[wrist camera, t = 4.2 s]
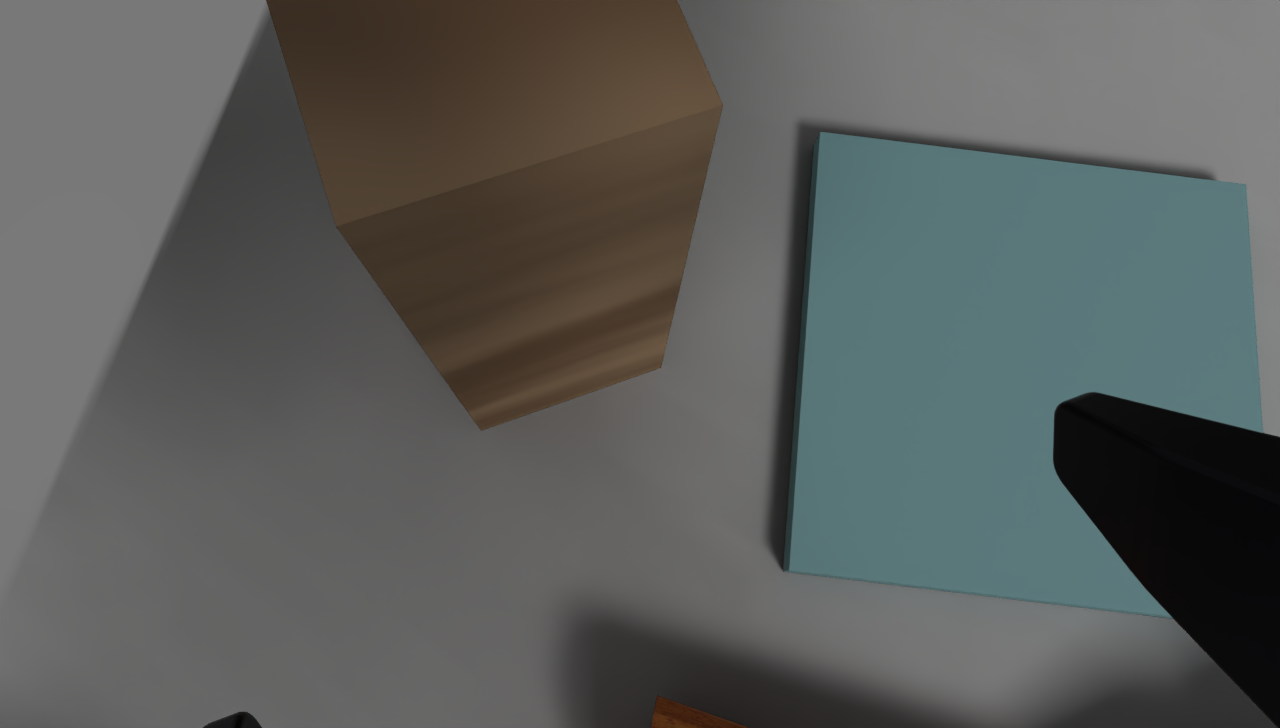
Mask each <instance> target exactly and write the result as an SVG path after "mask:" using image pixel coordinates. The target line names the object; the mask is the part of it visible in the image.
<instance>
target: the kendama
mask: <svg viewBox="0 0 1280 728" xmlns="http://www.w3.org/2000/svg"><path fill="white" fill-rule="evenodd" d="M651 728H749V727H746V726H743V725H740V724H737V723H734V722H731V721H729V720H726V719H723V718H720V717H717V716H714V715H712V714H709V713H706V712H703V711H700V710H697V709H695V708H692V707H689V706H686V705H683V704H680V703H678V702H675V701H672V700H669V699H666V698H663V697H661V696H658V695H657V699H656V704H655V709H654V714H653V719H652V724H651Z"/></svg>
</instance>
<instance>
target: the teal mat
mask: <svg viewBox="0 0 1280 728" xmlns="http://www.w3.org/2000/svg"><path fill="white" fill-rule="evenodd" d="M1088 392H1098V393H1102V394H1107V395H1111V396H1115V397H1119V398H1123V399H1127V400H1131V401H1135V402H1139V403H1143V404H1147V405H1151V406H1155V407H1159V408H1164V409H1168V410H1172V411H1176V412H1180V413H1184V414H1188V415H1192V416H1196V417H1200V418H1204V419H1208V420H1212V421H1216V422H1221V423H1225V424H1229V425H1233V426H1237V427H1241V428H1245V429H1249V430H1253V431H1257V432H1261V433H1263V427H1262V413H1261V398H1260V383H1259V369H1258V354H1257V339H1256V325H1255V310H1254V295H1253V281H1252V266H1251V251H1250V237H1249V222H1248V207H1247V193H1246V184H1238V183H1230V182H1222V181H1214V180H1206V179H1198V178H1190V177H1182V176H1174V175H1166V174H1158V173H1150V172H1141V171H1133V170H1125V169H1117V168H1109V167H1101V166H1093V165H1085V164H1077V163H1069V162H1061V161H1053V160H1045V159H1037V158H1029V157H1021V156H1012V155H1004V154H996V153H988V152H980V151H972V150H964V149H956V148H948V147H940V146H932V145H924V144H916V143H908V142H900V141H891V140H883V139H875V138H867V137H859V136H851V135H843V134H835V133H827V132H820V133H819V135H818V138H817V140H816V142H815V144H814V149H813V163H812V176H811V190H810V204H809V218H808V232H807V246H806V259H805V273H804V287H803V301H802V315H801V329H800V342H799V356H798V370H797V384H796V398H795V411H794V425H793V439H792V453H791V467H790V481H789V494H788V508H787V522H786V536H785V550H784V564H783V572H791V573H799V574H807V575H816V576H824V577H832V578H840V579H849V580H857V581H865V582H874V583H882V584H890V585H898V586H907V587H915V588H923V589H931V590H940V591H948V592H956V593H965V594H973V595H981V596H989V597H998V598H1006V599H1014V600H1022V601H1031V602H1039V603H1047V604H1055V605H1064V606H1072V607H1080V608H1089V609H1097V610H1105V611H1113V612H1122V613H1130V614H1138V615H1146V616H1155V617H1163V618H1171V619H1173V618H1172V617H1171V616H1170V614H1169V613H1168V612H1167V611H1166V610H1165V609H1164V608H1163V607H1162V606H1161V605H1160V604H1159V603H1158V602H1157V601H1156V600H1155V599H1154V597H1153V596H1152V595H1151V594H1150V593H1149V592H1148V591H1147V590H1146V589H1145V588H1144V586H1143V585H1142V584H1141V583H1140V582H1139V580H1138V579H1137V578H1136V577H1135V576H1134V574H1133V573H1132V572H1131V571H1130V570H1129V568H1128V567H1127V566H1126V564H1125V563H1124V562H1123V561H1122V559H1121V558H1120V557H1119V555H1118V554H1117V553H1116V552H1115V550H1114V549H1113V548H1112V547H1111V545H1110V544H1109V543H1108V541H1107V540H1106V539H1105V538H1104V536H1103V535H1102V534H1101V532H1100V531H1099V530H1098V529H1097V527H1096V526H1095V525H1094V523H1093V522H1092V521H1091V520H1090V518H1089V517H1088V516H1087V514H1086V513H1085V512H1084V511H1083V509H1082V508H1081V507H1080V505H1079V504H1078V503H1077V502H1076V500H1075V499H1074V498H1073V497H1072V495H1071V494H1070V493H1069V491H1068V490H1067V489H1066V488H1065V486H1064V485H1063V484H1062V482H1061V481H1060V479H1059V477H1058V476H1057V474H1056V471H1055V468H1054V464H1053V434H1054V412H1055V410H1056V408H1057V406H1058V405H1059V404H1060V403H1061V402H1063V401H1066V400H1068V399H1071V398H1074V397H1076V396H1079V395H1082V394H1084V393H1088Z"/></svg>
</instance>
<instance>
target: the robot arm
mask: <svg viewBox="0 0 1280 728" xmlns="http://www.w3.org/2000/svg"><path fill="white" fill-rule="evenodd" d="M1053 464H1054V468H1055V471H1056V474H1057V476H1058V477H1059V479H1060V481H1061V482H1062V484H1063V485H1064V486H1065V488H1066V489H1067V490H1068V491H1069V493H1070V494H1071V495H1072V497H1073V498H1074V499H1075V500H1076V502H1077V503H1078V504H1079V505H1080V507H1081V508H1082V509H1083V511H1084V512H1085V513H1086V514H1087V516H1088V517H1089V518H1090V520H1091V521H1092V522H1093V523H1094V525H1095V526H1096V527H1097V529H1098V530H1099V531H1100V532H1101V534H1102V535H1103V536H1104V538H1105V539H1106V540H1107V541H1108V543H1109V544H1110V545H1111V547H1112V548H1113V549H1114V550H1115V552H1116V553H1117V554H1118V555H1119V557H1120V558H1121V559H1122V561H1123V562H1124V563H1125V564H1126V566H1127V567H1128V568H1129V570H1130V571H1131V572H1132V573H1133V574H1134V576H1135V577H1136V578H1137V579H1138V580H1139V582H1140V583H1141V584H1142V585H1143V586H1144V588H1145V589H1146V590H1147V591H1148V592H1149V593H1150V594H1151V595H1152V596H1153V597H1154V599H1155V600H1156V601H1157V602H1158V603H1159V604H1160V605H1161V606H1162V607H1163V608H1164V609H1165V610H1166V611H1167V612H1168V613H1169V614H1170V616H1171V617H1172V618H1173V619H1174V620H1175V621H1176V622H1177V623H1178V624H1179V625H1180V626H1181V627H1182V628H1183V629H1184V630H1185V631H1186V632H1187V633H1188V634H1189V635H1190V636H1191V637H1192V638H1193V640H1194V641H1195V642H1196V643H1197V644H1198V645H1199V646H1200V647H1201V648H1202V649H1203V650H1204V651H1205V652H1206V653H1207V654H1208V655H1209V656H1210V657H1211V658H1212V659H1213V660H1214V661H1215V662H1216V664H1217V665H1218V666H1219V667H1220V668H1221V669H1222V670H1223V671H1224V672H1225V673H1226V674H1227V675H1228V676H1229V677H1230V678H1231V679H1232V680H1233V681H1234V682H1235V683H1236V684H1237V685H1238V686H1239V687H1240V689H1241V690H1242V691H1243V692H1244V693H1245V694H1246V695H1247V696H1248V697H1249V698H1250V699H1251V700H1252V701H1253V702H1254V703H1255V704H1256V705H1257V706H1258V707H1259V708H1260V709H1261V710H1262V711H1263V713H1264V714H1265V715H1266V716H1267V717H1268V718H1269V719H1270V720H1271V721H1272V722H1273V723H1274V724H1275V725H1276V726H1277V727H1278V728H1280V437H1278V436H1273V435H1269V434H1265V433H1261V432H1257V431H1253V430H1249V429H1245V428H1241V427H1237V426H1233V425H1229V424H1225V423H1221V422H1216V421H1212V420H1208V419H1204V418H1200V417H1196V416H1192V415H1188V414H1184V413H1180V412H1176V411H1172V410H1168V409H1164V408H1159V407H1155V406H1151V405H1147V404H1143V403H1139V402H1135V401H1131V400H1127V399H1123V398H1119V397H1115V396H1111V395H1107V394H1102V393H1098V392H1088V393H1084V394H1082V395H1079V396H1076V397H1074V398H1071V399H1068V400H1066V401H1063V402H1061V403H1060V404H1059V405H1058V406H1057V408H1056V410H1055V412H1054V434H1053ZM203 728H262V727H261V726H260V724H259V723H258V721H257V720H256V719H255V718H254V717H253V716H252V715H251V714H250V713H248V712H238V713H235V714H233V715H230V716H227V717H225V718H222V719H219V720H217V721H214V722H212V723H209V724H208V725H206V726H204V727H203Z"/></svg>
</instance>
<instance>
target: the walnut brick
mask: <svg viewBox="0 0 1280 728" xmlns="http://www.w3.org/2000/svg"><path fill="white" fill-rule="evenodd" d="M266 1H267V4H268V7H269V10H270V14H271V17H272V20H273V23H274V27H275V30H276V33H277V36H278V40H279V43H280V46H281V49H282V53H283V56H284V59H285V62H286V66H287V69H288V72H289V75H290V78H291V82H292V85H293V88H294V91H295V95H296V98H297V101H298V104H299V108H300V111H301V114H302V117H303V121H304V124H305V127H306V130H307V134H308V137H309V140H310V143H311V147H312V150H313V153H314V156H315V160H316V163H317V166H318V169H319V172H320V176H321V179H322V182H323V185H324V189H325V192H326V195H327V198H328V202H329V205H330V208H331V211H332V215H333V218H334V221H335V224H336V227H337V228H338V230H339V231H340V233H341V234H342V235H343V237H344V238H345V240H346V241H347V242H348V244H349V245H350V247H351V248H352V250H353V251H354V252H355V254H356V255H357V257H358V258H359V259H360V261H361V262H362V264H363V265H364V266H365V268H366V269H367V271H368V272H369V273H370V275H371V276H372V278H373V279H374V281H375V282H376V283H377V285H378V286H379V288H380V289H381V290H382V292H383V293H384V295H385V296H386V297H387V299H388V300H389V302H390V303H391V304H392V306H393V307H394V309H395V310H396V312H397V313H398V314H399V316H400V317H401V319H402V320H403V321H404V323H405V324H406V326H407V327H408V328H409V330H410V331H411V333H412V334H413V336H414V337H415V338H416V340H417V341H418V343H419V344H420V345H421V347H422V348H423V350H424V351H425V352H426V354H427V355H428V357H429V358H430V359H431V361H432V362H433V364H434V365H435V367H436V368H437V369H438V371H439V372H440V374H441V375H442V376H443V378H444V379H445V381H446V382H447V383H448V385H449V386H450V388H451V389H452V390H453V392H454V393H455V395H456V396H457V398H458V399H459V400H460V402H461V403H462V405H463V406H464V407H465V409H466V410H467V412H468V413H469V414H470V416H471V417H472V419H473V420H474V421H475V423H476V424H477V426H478V427H479V429H480V430H481V431H482V430H484V429H487V428H490V427H493V426H496V425H499V424H502V423H504V422H507V421H510V420H513V419H516V418H519V417H522V416H524V415H527V414H530V413H533V412H536V411H539V410H541V409H544V408H547V407H550V406H553V405H556V404H559V403H561V402H564V401H567V400H570V399H573V398H576V397H579V396H581V395H584V394H587V393H590V392H593V391H596V390H599V389H601V388H604V387H607V386H610V385H613V384H616V383H619V382H621V381H624V380H627V379H630V378H633V377H636V376H639V375H641V374H644V373H647V372H650V371H653V370H656V369H658V368H661V365H662V361H663V357H664V353H665V348H666V344H667V340H668V336H669V331H670V327H671V323H672V319H673V314H674V310H675V306H676V302H677V297H678V293H679V289H680V285H681V280H682V276H683V272H684V268H685V263H686V259H687V255H688V251H689V247H690V242H691V238H692V234H693V230H694V225H695V221H696V217H697V213H698V208H699V204H700V200H701V196H702V191H703V187H704V183H705V179H706V174H707V170H708V166H709V162H710V158H711V153H712V149H713V145H714V141H715V136H716V132H717V128H718V124H719V119H720V115H721V111H722V107H723V104H722V102H721V100H720V97H719V95H718V93H717V90H716V88H715V86H714V84H713V81H712V79H711V77H710V74H709V72H708V70H707V68H706V65H705V63H704V61H703V58H702V56H701V54H700V52H699V49H698V47H697V45H696V43H695V40H694V38H693V36H692V33H691V31H690V29H689V27H688V24H687V22H686V20H685V17H684V15H683V13H682V11H681V8H680V6H679V4H678V1H677V0H266Z"/></svg>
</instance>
